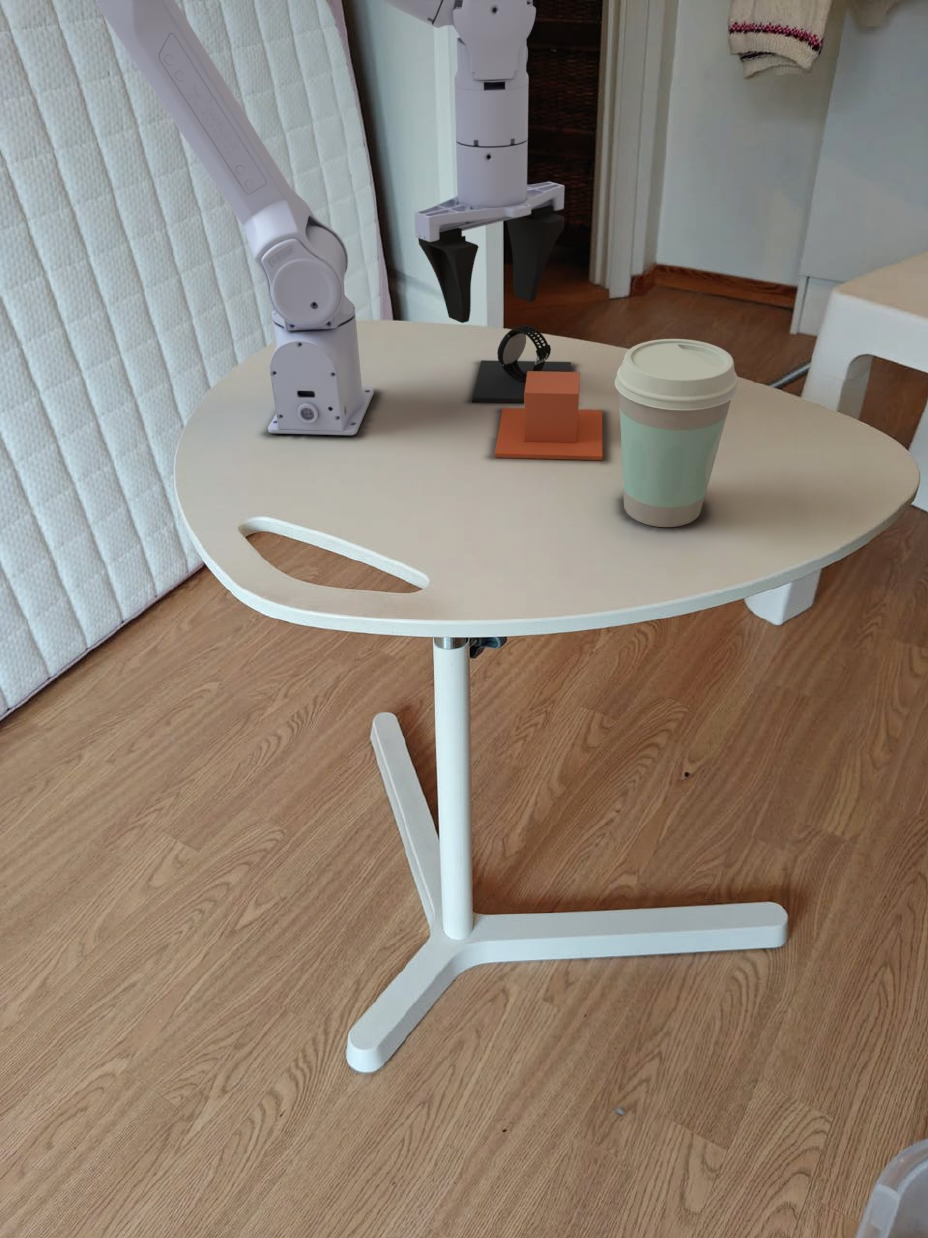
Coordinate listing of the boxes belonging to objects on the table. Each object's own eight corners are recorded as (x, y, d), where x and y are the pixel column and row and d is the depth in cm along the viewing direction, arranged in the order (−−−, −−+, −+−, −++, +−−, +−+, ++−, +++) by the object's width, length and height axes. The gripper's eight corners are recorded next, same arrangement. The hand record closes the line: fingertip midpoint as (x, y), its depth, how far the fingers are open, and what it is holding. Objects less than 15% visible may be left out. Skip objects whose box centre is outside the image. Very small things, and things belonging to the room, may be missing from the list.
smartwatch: (527, 366, 97) (528, 316, 94) (553, 385, 93) (555, 333, 90) (490, 374, 95) (490, 324, 92) (515, 393, 92) (516, 342, 89)
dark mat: (569, 403, 91) (569, 399, 90) (472, 401, 92) (472, 397, 91) (570, 365, 98) (571, 361, 98) (481, 363, 99) (481, 360, 98)
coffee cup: (724, 539, 71) (749, 384, 64) (606, 535, 72) (618, 382, 65) (713, 482, 78) (734, 336, 71) (605, 479, 79) (615, 334, 72)
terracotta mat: (602, 460, 82) (602, 456, 81) (494, 457, 82) (494, 453, 82) (601, 413, 89) (602, 409, 89) (502, 411, 90) (502, 407, 89)
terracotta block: (576, 443, 83) (579, 393, 81) (523, 441, 84) (524, 392, 81) (577, 419, 87) (579, 371, 84) (526, 418, 87) (527, 370, 85)
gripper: (450, 162, 72) (455, 341, 80) (592, 133, 79) (584, 301, 87) (395, 147, 76) (405, 319, 85) (534, 121, 83) (531, 282, 92)
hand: (492, 308), depth 86 cm, fingers open, 7 cm apart
